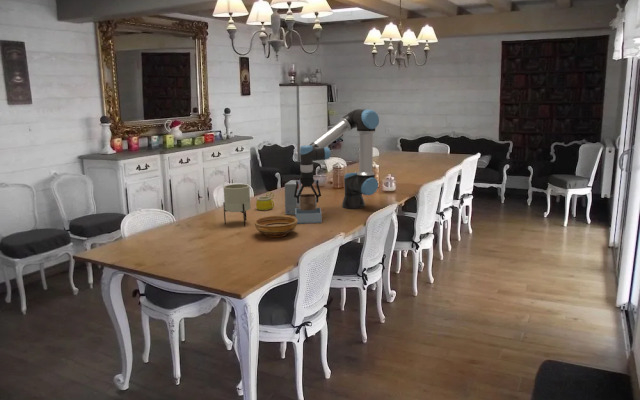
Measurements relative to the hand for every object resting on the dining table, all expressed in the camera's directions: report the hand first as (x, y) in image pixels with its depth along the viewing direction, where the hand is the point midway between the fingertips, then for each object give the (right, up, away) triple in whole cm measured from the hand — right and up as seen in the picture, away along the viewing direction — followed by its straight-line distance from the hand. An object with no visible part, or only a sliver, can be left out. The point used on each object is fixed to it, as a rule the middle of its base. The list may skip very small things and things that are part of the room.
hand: (307, 208), depth 326 cm
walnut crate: (0, 0, 0) cm, 0 cm away
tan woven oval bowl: (-17, -14, -28) cm, 35 cm away
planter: (-42, -9, -2) cm, 43 cm away
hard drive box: (-10, -3, +24) cm, 26 cm away
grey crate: (0, -7, +2) cm, 8 cm away
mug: (-29, -2, +34) cm, 45 cm away
